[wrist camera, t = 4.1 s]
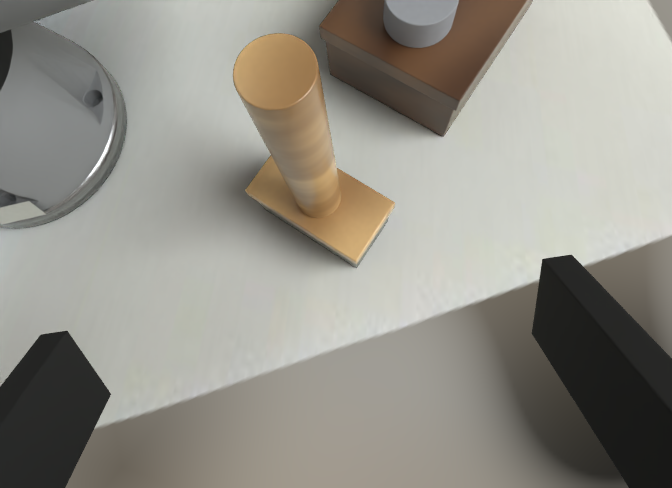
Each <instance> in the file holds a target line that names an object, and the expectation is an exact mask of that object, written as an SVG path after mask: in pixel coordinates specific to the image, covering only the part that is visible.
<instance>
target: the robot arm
mask: <svg viewBox="0 0 672 488" xmlns="http://www.w3.org/2000/svg"><path fill="white" fill-rule="evenodd" d="M90 1H93V0H0V227H3V228H27V227H33V226H38V225H41V224H45V223H48V222H51V221H53V220H56V219H58V218H60V217H62V216H64V215H66V214H68V213H70V212H71V211H73V210H74V209H76V208H77V207H79V206H80V205H82V204H83V203H84V202H85V201H86V200H88V199H89V198H90V197H91V196H92V195H93V194H94V193H95V192H96V191H97V190H98V189H99V188H100V186H101V185H102V184H103V183H104V182H105V180H106V179H107V177H108V176H109V175H110V173H111V171H112V170H113V168H114V166H115V164H116V162H117V160H118V158H119V155H120V153H121V150H122V147H123V143H124V140H125V134H126V124H127V117H126V107H125V102H124V99H123V95H122V93H121V90H120V88H119V86H118V84H117V82H116V81H115V80H114V78H113V77H112V75H111V74H110V73H109V72H108V71H107V70H106V69H105V68H104V67H103V66H102V65H101V64H100V63H99V62H98V61H97V59H96V58H95V57H93V56H92V55H91V54H90V53H89V52H88V51H86V50H85V49H84V48H82V47H80V46H79V45H77V44H76V43H74V42H72V41H70V40H69V39H67V38H65V37H63V36H61V35H59V34H57V33H55V32H53V31H51V30H49V29H47V28H45V27H43V26H41V25H39V24H37V23H35V22H33V21H36V20H39V19H41V18H44V17H47V16H50V15H53V14H56V13H59V12H61V11H64V10H67V9H70V8H73V7H76V6H78V5H81V4H84V3H87V2H90ZM532 335H533V336H534V338H535V339H536V341H537V342H538V344H539V346H540V347H541V349H542V350H543V352H544V353H545V355H546V357H547V358H548V360H549V361H550V363H551V365H552V366H553V368H554V369H555V371H556V373H557V374H558V376H559V377H560V379H561V381H562V382H563V384H564V385H565V387H566V388H567V390H568V392H569V393H570V395H571V396H572V398H573V400H574V401H575V402H576V404H577V406H578V407H579V409H580V410H581V412H582V414H583V415H584V417H585V419H586V420H587V422H588V423H589V425H590V426H591V428H592V430H593V431H594V433H595V434H596V436H597V438H598V439H599V441H600V442H601V444H602V445H603V447H604V449H605V450H606V452H607V453H608V455H609V457H610V458H611V460H612V461H613V463H614V465H615V466H616V468H617V469H618V471H619V472H620V474H621V476H622V477H623V479H624V480H625V482H626V483H627V485H628V487H629V488H672V358H670V356H669V355H668V354H667V353H666V352H665V351H664V350H663V349H662V348H661V347H660V346H659V345H658V344H657V343H656V342H655V341H654V340H653V339H652V338H651V337H650V336H649V335H648V334H647V332H646V331H645V330H644V329H643V328H642V327H641V326H640V325H639V324H638V323H637V322H636V321H635V320H634V319H633V318H632V317H631V316H630V315H629V314H628V313H627V312H626V311H625V310H624V309H623V307H621V305H620V304H619V303H618V302H617V301H616V300H615V299H614V298H613V297H612V296H611V295H610V294H609V293H608V292H607V291H606V290H605V289H604V288H603V287H602V286H601V285H600V284H599V283H598V282H597V281H596V279H595V278H594V277H593V276H592V275H591V274H590V273H589V272H588V271H587V270H586V269H585V268H584V267H583V266H582V265H581V264H580V263H579V262H578V261H577V260H576V259H575V258H574V257H573V256H572V255H566V256H560V257H553V258H546V259H542V266H541V273H540V280H539V288H538V294H537V301H536V308H535V315H534V322H533V329H532ZM110 395H111V393H110V392H109V390H108V389H107V388H106V386H105V385H104V383H103V382H102V380H101V379H100V377H99V376H98V375H97V373H96V372H95V370H94V369H93V367H92V366H91V364H90V363H89V362H88V360H87V359H86V357H85V356H84V354H83V353H82V351H81V350H80V349H79V347H78V346H77V344H76V343H75V341H74V340H73V338H72V337H71V336H70V334H69V333H68V331H63V332H56V333H49V334H43V335H40V336H39V338H38V339H37V340H36V342H35V343H34V344H33V345H32V347H31V348H30V349H29V351H28V352H27V353H26V355H25V356H24V357H23V358H22V360H21V361H20V362H19V364H18V365H17V366H16V367H15V369H14V370H13V371H12V373H11V374H10V375H9V376H8V378H7V379H6V380H5V382H4V383H3V384H2V385H1V387H0V488H65V487H66V485H67V483H68V480H69V478H70V477H71V475H72V472H73V470H74V468H75V466H76V464H77V462H78V460H79V458H80V456H81V454H82V452H83V450H84V448H85V446H86V444H87V442H88V440H89V438H90V436H91V434H92V432H93V430H94V428H95V426H96V424H97V422H98V420H99V418H100V415H101V413H102V411H103V409H104V407H105V405H106V403H107V401H108V399H109V397H110Z"/></svg>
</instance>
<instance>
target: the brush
mask: <svg viewBox="0 0 672 488" xmlns="http://www.w3.org/2000/svg"><path fill="white" fill-rule="evenodd" d="M233 81H234V85H235V88H236V90H237V92H238V94H239V96H240V98H241V100H242V102H243V103H244V105H245V107H246V109H247V111H248V113H249V115H250V117H251V118H252V120H253V122H254V124H255V126H256V128H257V130H258V132H259V133H260V135H261V137H262V139H263V141H264V143H265V145H266V147H267V148H268V150H269V152H270V154H271V155H270V157H269V158H268V160H267V161H266V162H265V164H264V165H263V166H262V168H261V169H260V171H259V172H258V173H257V175H256V176H255V177H254V179H253V180H252V182H251V183H250V184H249V186H248V187H247V188H246V190H245V191H246V193H247V194H248V195H249V196H250V197H252V198H253V199H255V200H256V201H258V202H260V204H261V205H262V206H263V207H264V209H266V210H267V211H269V212H271V213H272V214H274V215H275V216H277V217H278V218H280V219H281V220H283V221H284V222H286V223H288V224H289V225H291V226H292V227H294V228H295V229H297V230H298V231H300V232H301V233H303V234H305V235H306V236H308V237H309V238H311V239H312V240H314V241H315V242H317V243H319V244H320V245H322V246H323V247H325V248H326V249H328V250H329V251H331V252H332V253H334V254H336V255H337V256H339V257H340V258H342V259H343V260H345V261H346V262H348V263H349V264H351V265H353V266H354V267H356V268H357V267H358V265H359V264H360V262H361V261H362V259H363V258H364V256H365V255H366V253H367V252H368V250H369V249H370V247H371V246H372V244H373V243H374V241H375V240H376V238H377V237H378V235H379V234H380V232H381V231H382V229H383V227H384V226H385V224H386V223H387V221H388V217H389V215H390V213H391V212H392V210H393V209H394V206H395V202H393V201H391V200H390V199H388V198H386V197H385V196H383V195H381V194H380V193H378V192H376V191H375V190H373V189H371V188H370V187H368V186H366V185H365V184H363V183H361V182H360V181H358V180H356V179H355V178H353V177H351V176H350V175H348V174H346V173H345V172H343V171H341V170H340V169H338V168H337V167H336V162H335V156H334V150H333V145H332V139H331V134H330V128H329V122H328V117H327V111H326V106H325V100H324V95H323V89H322V83H321V78H320V72H319V67H318V61H317V58H316V56H315V53H314V52H313V50H312V49H311V48H310V46H309V45H308V44H307V43H305V42H304V41H303V40H301V39H300V38H298V37H295V36H293V35H289V34H283V33H275V34H268V35H265V36H262V37H259V38H257V39H255V40H254V41H252V42H251V43H249V44H248V45H247V46H246V47H245V48H244V49H243V50H242V51H241V53H240V54H239V56H238V57H237V59H236V62H235V65H234V69H233Z"/></svg>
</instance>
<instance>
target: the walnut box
mask: <svg viewBox="0 0 672 488" xmlns="http://www.w3.org/2000/svg"><path fill="white" fill-rule="evenodd" d="M532 1H533V0H459V2H458V6H457V10H456V13H455V17H454V20H453V24H452V27H451V29H450V31H449V33H448V34H447V35H446V36H445V37H444V38H443V39H442V40H441V41H439V42H438V43H436V44H434V45H431V46H428V47H423V48H412V47H407V46H404V45H401V44H399V43H398V42H396V41H395V40H394V39H392V38H391V37H390V35H389V34H388V33H387V31H386V29H385V26H384V21H383V15H384V0H338V2H337V3H336V4H335V6H334V7H333V8H332V10H331V11H330V12H329V14H328V15H327V16H326V18H325V19H324V20H323V22H322V23H321V24H320V26H319V29H320V35H321V39H323V40H325V41H326V48H327V55H328V62H329V69H330V74H331V75H333V76H335V77H336V78H338V79H340V80H342V81H344V82H345V83H347V84H349V85H351V86H353V87H354V88H356V89H358V90H360V91H362V92H363V93H365V94H367V95H369V96H371V97H372V98H374V99H376V100H378V101H380V102H382V103H383V104H385V105H387V106H389V107H391V108H392V109H394V110H396V111H398V112H400V113H401V114H403V115H405V116H407V117H409V118H410V119H412V120H414V121H416V122H418V123H419V124H421V125H423V126H425V127H427V128H428V129H430V130H432V131H434V132H436V133H437V134H439V135H441V136H444V135H445V134H446V132H447V131H448V129H449V128H450V126H451V125H452V123H453V122H454V120H455V119H456V117H457V116H458V114H459V112H460V111H461V109H462V108H463V106H464V105H465V103H466V102H467V100H468V99H469V97H470V96H471V94H472V93H473V91H474V90H475V88H476V87H477V85H478V84H479V82H480V81H481V79H482V78H483V76H484V75H485V73H486V72H487V70H488V69H489V67H490V66H491V64H492V63H493V61H494V60H495V58H496V57H497V55H498V54H499V52H500V51H501V49H502V47H503V46H504V44H505V43H506V41H507V40H508V38H509V37H510V35H511V34H512V32H513V31H514V29H515V28H516V26H517V25H518V23H519V22H520V20H521V19H522V17H523V16H524V14H525V13H526V11H527V10H528V8H529V7H530V5H531V3H532Z"/></svg>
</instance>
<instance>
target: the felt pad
mask: <svg viewBox="0 0 672 488" xmlns="http://www.w3.org/2000/svg"><path fill="white" fill-rule="evenodd" d="M458 2H459V0H384V15H383V21H384V26H385V29H386V31H387V33H388V34H389V35H390V37H391V38H392V39H394V40H395V41H396V42H398V43H399V44H401V45H404V46H407V47H412V48H423V47H428V46H431V45H434V44H436V43H438V42H439V41H441V40H442V39H443V38H444V37H445V36H446V35H447V34H448V33H449V31H450V29H451V27H452V24H453V20H454V17H455V13H456V10H457V6H458Z"/></svg>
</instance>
